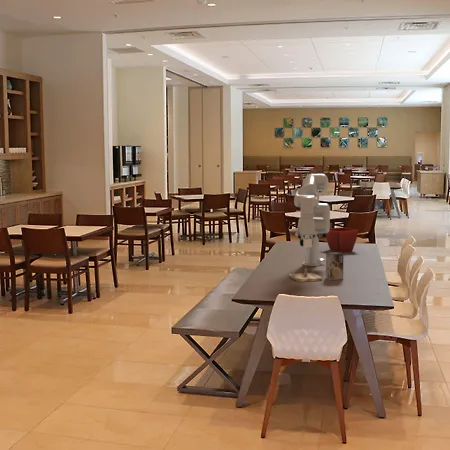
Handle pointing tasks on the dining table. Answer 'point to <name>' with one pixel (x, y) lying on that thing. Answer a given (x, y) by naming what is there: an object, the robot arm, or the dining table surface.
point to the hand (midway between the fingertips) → (306, 245)
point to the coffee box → (334, 266)
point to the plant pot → (341, 239)
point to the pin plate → (305, 276)
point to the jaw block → (307, 242)
